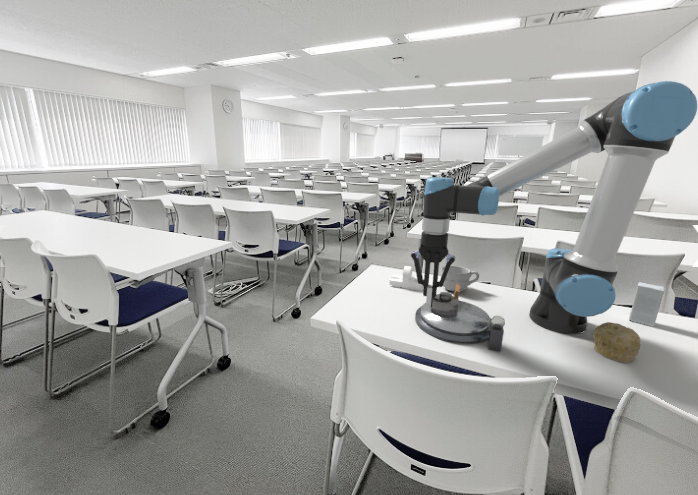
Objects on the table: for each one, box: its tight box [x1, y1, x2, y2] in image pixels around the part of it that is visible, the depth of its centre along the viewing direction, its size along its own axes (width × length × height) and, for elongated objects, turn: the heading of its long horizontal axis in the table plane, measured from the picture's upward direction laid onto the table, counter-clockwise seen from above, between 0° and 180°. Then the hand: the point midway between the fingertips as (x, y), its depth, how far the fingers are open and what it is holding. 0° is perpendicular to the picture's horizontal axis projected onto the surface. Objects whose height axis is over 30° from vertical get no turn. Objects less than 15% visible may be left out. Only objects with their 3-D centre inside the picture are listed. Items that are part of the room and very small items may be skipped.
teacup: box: [440, 265, 480, 292], centre depth 124 cm, size 14×11×8 cm
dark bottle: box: [487, 315, 506, 353], centre depth 86 cm, size 3×3×9 cm
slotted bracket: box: [388, 265, 424, 291], centre depth 127 cm, size 13×7×8 cm, turn 71°
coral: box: [592, 321, 641, 364], centre depth 85 cm, size 9×9×8 cm
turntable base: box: [414, 305, 492, 345], centre depth 100 cm, size 23×23×1 cm
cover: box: [431, 291, 460, 318], centre depth 99 cm, size 8×8×6 cm
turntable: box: [420, 284, 491, 336], centre depth 99 cm, size 20×22×7 cm
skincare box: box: [628, 281, 665, 328], centre depth 101 cm, size 6×4×12 cm
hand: (428, 305), depth 101 cm, fingers closed
